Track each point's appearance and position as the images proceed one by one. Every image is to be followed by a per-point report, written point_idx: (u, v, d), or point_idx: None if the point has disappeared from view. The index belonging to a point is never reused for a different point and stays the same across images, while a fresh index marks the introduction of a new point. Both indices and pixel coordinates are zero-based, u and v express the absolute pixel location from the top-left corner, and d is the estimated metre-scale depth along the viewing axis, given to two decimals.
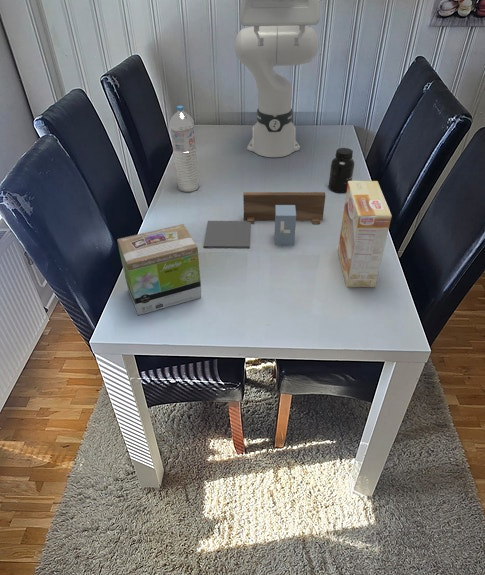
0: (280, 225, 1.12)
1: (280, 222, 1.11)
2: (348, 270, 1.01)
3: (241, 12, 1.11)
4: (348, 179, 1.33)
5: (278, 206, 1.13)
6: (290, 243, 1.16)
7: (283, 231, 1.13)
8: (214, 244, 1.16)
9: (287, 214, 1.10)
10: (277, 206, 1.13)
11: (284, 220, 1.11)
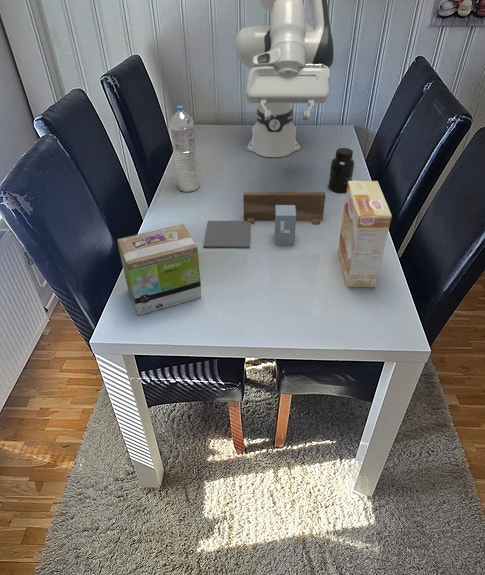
0: (280, 225, 1.12)
1: (280, 222, 1.11)
2: (348, 270, 1.01)
3: (248, 84, 1.08)
4: (348, 179, 1.33)
5: (278, 206, 1.13)
6: (290, 243, 1.16)
7: (283, 231, 1.13)
8: (214, 244, 1.16)
9: (287, 214, 1.10)
10: (277, 206, 1.13)
11: (284, 220, 1.11)
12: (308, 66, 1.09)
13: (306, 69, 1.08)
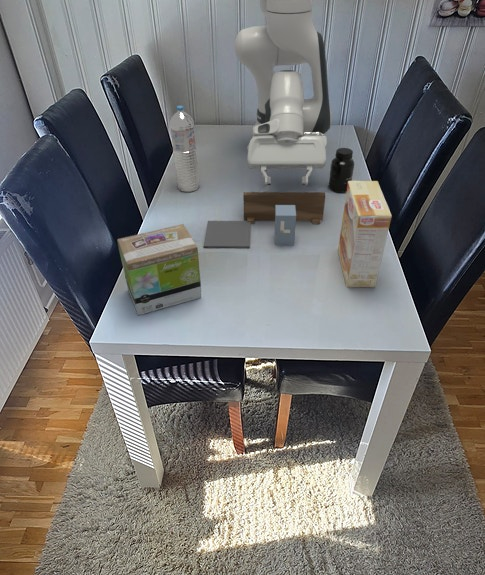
0: (280, 225, 1.12)
1: (280, 222, 1.11)
2: (348, 270, 1.01)
3: (248, 152, 1.13)
4: (348, 179, 1.33)
5: (278, 206, 1.13)
6: (290, 243, 1.16)
7: (283, 231, 1.13)
8: (214, 244, 1.16)
9: (287, 214, 1.10)
10: (277, 206, 1.13)
11: (284, 220, 1.11)
12: (306, 134, 1.15)
13: (304, 138, 1.13)
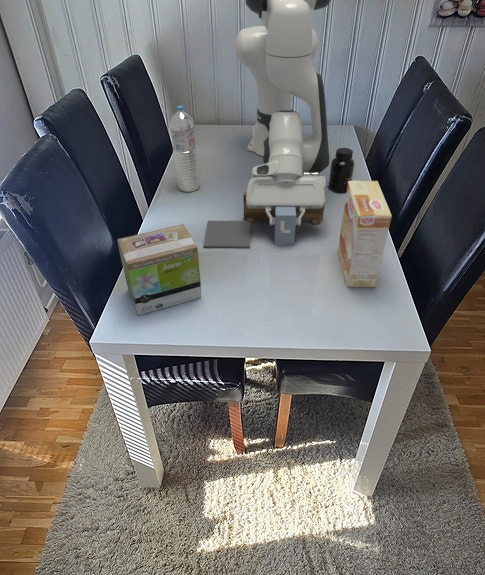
0: (280, 225, 1.12)
1: (280, 222, 1.11)
2: (348, 270, 1.01)
3: (247, 193, 1.13)
4: (348, 179, 1.33)
5: (278, 206, 1.13)
6: (290, 243, 1.16)
7: (283, 231, 1.13)
8: (214, 244, 1.16)
9: (287, 214, 1.10)
10: (277, 206, 1.13)
11: (284, 220, 1.11)
12: (305, 175, 1.14)
13: (303, 179, 1.13)
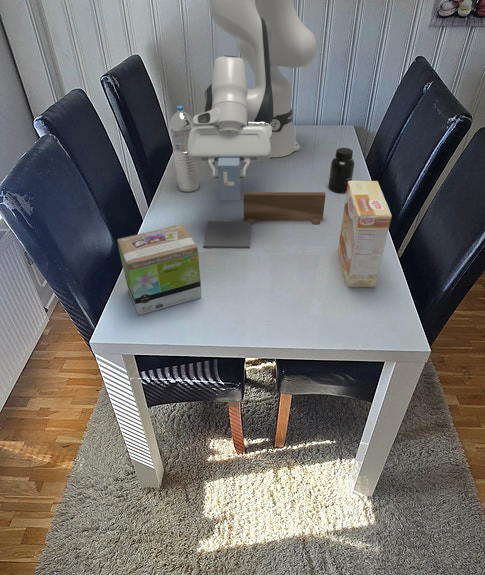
0: (223, 177, 1.06)
1: (223, 173, 1.05)
2: (348, 270, 1.01)
3: (188, 143, 1.07)
4: (348, 179, 1.33)
5: (221, 157, 1.07)
6: (235, 197, 1.09)
7: (227, 183, 1.07)
8: (214, 244, 1.16)
9: (229, 164, 1.04)
10: (220, 157, 1.07)
11: (226, 171, 1.05)
12: (250, 124, 1.08)
13: (247, 128, 1.07)
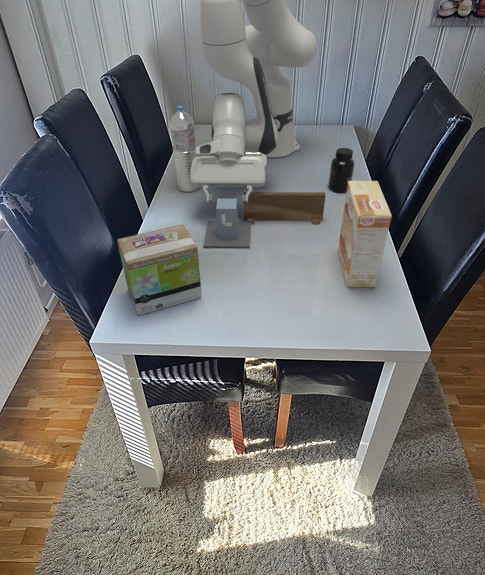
0: (221, 218, 1.14)
1: (221, 215, 1.13)
2: (348, 270, 1.01)
3: (191, 171, 1.18)
4: (348, 179, 1.33)
5: (219, 200, 1.15)
6: (233, 236, 1.17)
7: (225, 224, 1.15)
8: (214, 244, 1.16)
9: (227, 207, 1.12)
10: (219, 200, 1.15)
11: (224, 213, 1.13)
12: (247, 154, 1.19)
13: (244, 158, 1.18)
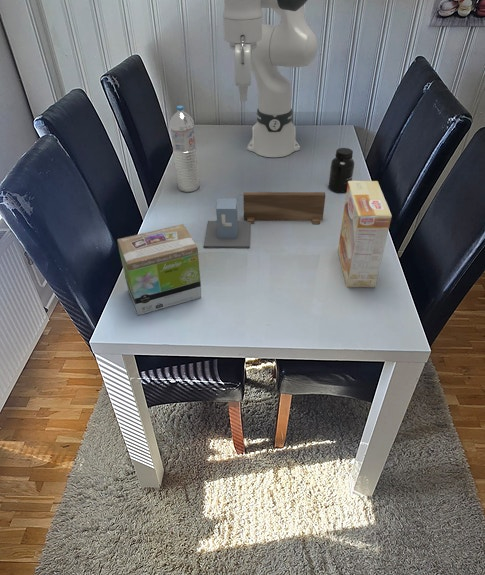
0: (221, 218, 1.14)
1: (221, 215, 1.13)
2: (348, 270, 1.01)
3: None
4: (348, 180, 1.33)
5: (219, 200, 1.15)
6: (233, 236, 1.17)
7: (225, 224, 1.15)
8: (214, 244, 1.16)
9: (227, 207, 1.12)
10: (219, 200, 1.15)
11: (224, 213, 1.13)
12: None
13: None
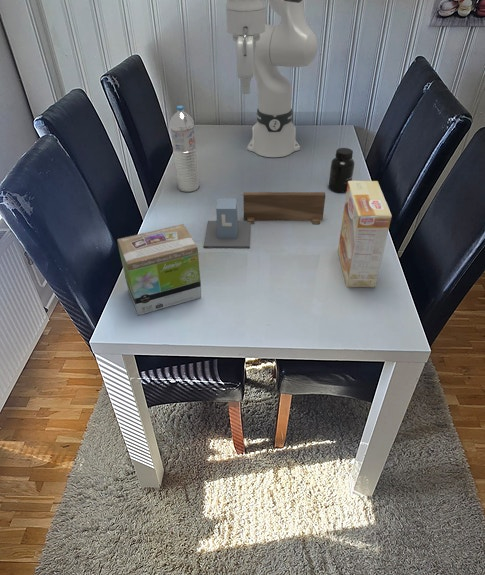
0: (221, 218, 1.14)
1: (221, 215, 1.13)
2: (348, 270, 1.01)
3: None
4: (348, 180, 1.33)
5: (219, 200, 1.15)
6: (233, 236, 1.17)
7: (225, 224, 1.15)
8: (214, 244, 1.16)
9: (227, 207, 1.12)
10: (219, 200, 1.15)
11: (224, 213, 1.13)
12: (243, 32, 0.98)
13: None
